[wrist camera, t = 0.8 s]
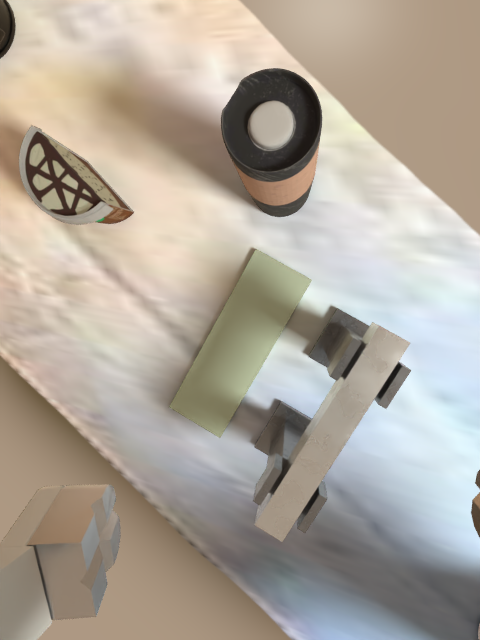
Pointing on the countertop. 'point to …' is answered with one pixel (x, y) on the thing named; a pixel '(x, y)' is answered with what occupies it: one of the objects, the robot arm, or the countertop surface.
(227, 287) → the countertop surface
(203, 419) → the mat
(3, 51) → the french press
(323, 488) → the posts
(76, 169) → the food container
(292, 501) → the rail
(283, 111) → the travel mug
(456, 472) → the countertop surface
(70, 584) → the robot arm
